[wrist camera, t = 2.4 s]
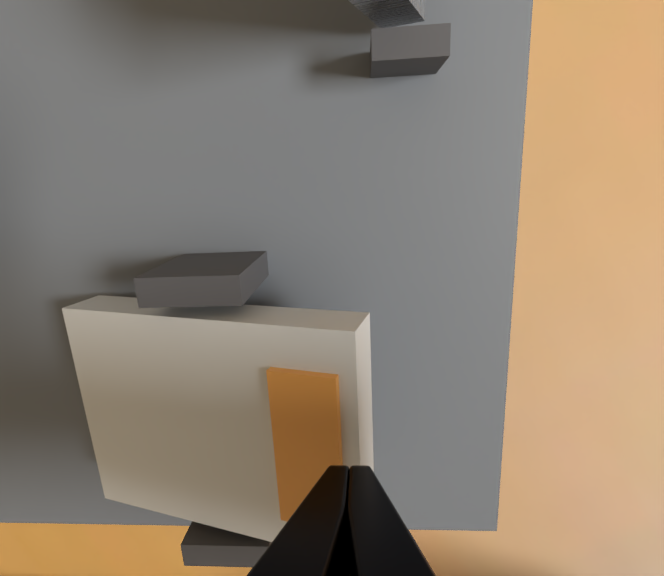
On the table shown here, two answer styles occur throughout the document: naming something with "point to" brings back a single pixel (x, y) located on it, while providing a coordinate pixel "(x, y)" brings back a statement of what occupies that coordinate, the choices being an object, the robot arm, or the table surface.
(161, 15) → the console
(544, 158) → the table surface
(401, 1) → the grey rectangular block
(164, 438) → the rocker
